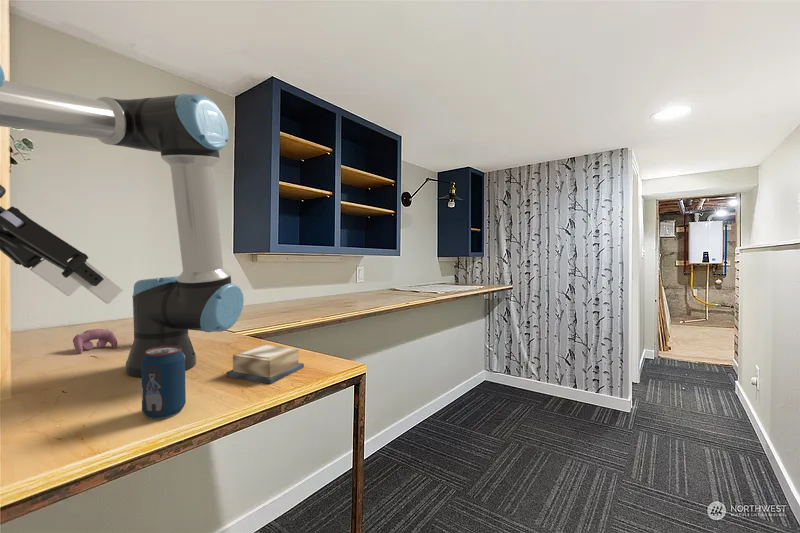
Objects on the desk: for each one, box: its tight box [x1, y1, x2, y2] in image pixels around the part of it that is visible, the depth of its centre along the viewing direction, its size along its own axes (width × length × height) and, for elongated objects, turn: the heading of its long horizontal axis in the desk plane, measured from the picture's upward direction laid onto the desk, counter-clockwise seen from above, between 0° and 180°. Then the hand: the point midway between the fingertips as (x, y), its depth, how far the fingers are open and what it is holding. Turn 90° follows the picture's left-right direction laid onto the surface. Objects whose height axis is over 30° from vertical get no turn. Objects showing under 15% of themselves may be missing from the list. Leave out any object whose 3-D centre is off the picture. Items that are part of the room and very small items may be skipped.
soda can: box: [141, 346, 187, 420], centre depth 70 cm, size 7×7×12 cm
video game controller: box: [72, 328, 118, 355], centre depth 110 cm, size 10×5×7 cm, turn 144°
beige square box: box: [226, 343, 305, 385], centre depth 94 cm, size 13×13×5 cm
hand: (94, 293), depth 60 cm, fingers open, 13 cm apart
